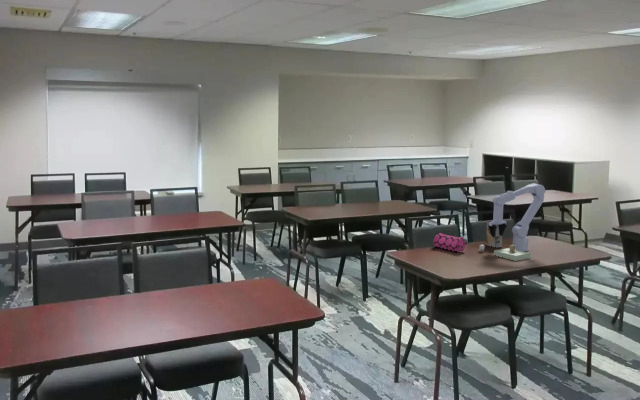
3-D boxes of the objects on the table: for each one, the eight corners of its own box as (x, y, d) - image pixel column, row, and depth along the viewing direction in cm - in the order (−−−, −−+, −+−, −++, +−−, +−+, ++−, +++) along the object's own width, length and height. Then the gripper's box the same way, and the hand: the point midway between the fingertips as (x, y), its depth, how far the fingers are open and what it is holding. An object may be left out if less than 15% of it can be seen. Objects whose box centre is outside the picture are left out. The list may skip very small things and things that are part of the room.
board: (508, 252, 354) (508, 248, 353) (530, 258, 341) (530, 253, 340) (493, 255, 346) (493, 250, 346) (515, 260, 333) (515, 255, 333)
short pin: (481, 250, 358) (481, 244, 358) (485, 251, 356) (485, 245, 355) (478, 251, 357) (478, 245, 356) (481, 252, 354) (482, 246, 354)
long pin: (511, 255, 346) (512, 244, 345) (515, 256, 343) (516, 245, 342) (508, 256, 344) (508, 245, 343) (512, 257, 341) (512, 246, 341)
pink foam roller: (467, 251, 355) (468, 236, 354) (457, 253, 349) (458, 237, 348) (440, 245, 372) (441, 230, 371) (430, 247, 366) (431, 232, 364)
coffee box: (502, 247, 370) (503, 222, 368) (494, 247, 368) (496, 223, 365) (492, 244, 379) (494, 220, 376) (485, 245, 376) (486, 221, 374)
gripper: (500, 213, 364) (499, 233, 365) (485, 214, 356) (484, 236, 357) (509, 214, 358) (508, 235, 360) (494, 216, 350) (493, 238, 352)
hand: (496, 236), depth 358 cm, fingers open, 7 cm apart
